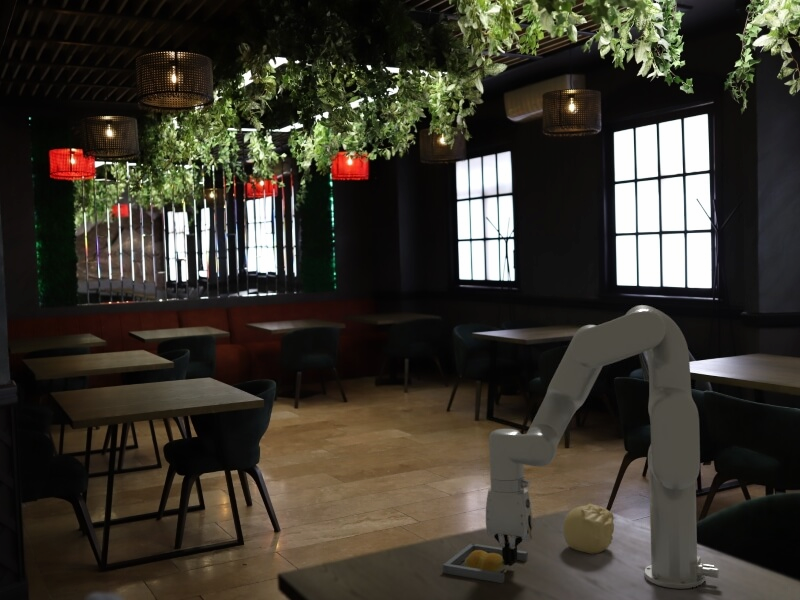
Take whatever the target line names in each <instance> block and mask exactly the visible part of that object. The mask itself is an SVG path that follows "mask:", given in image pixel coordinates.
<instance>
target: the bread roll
mask: <svg viewBox="0 0 800 600" xmlns="http://www.w3.org/2000/svg"><path fill="white" fill-rule="evenodd" d="M464 567H470V568H476V569H482V570H488V571H494V572H500V573H502V572H503V571H504V569H505V567H506V565H504V560H503V557H502V556H501V555H499V554H496V553H487V552H485V551H482V550H475V551H473V552H472V553H471V554H470V555H469V556H468V557H467V558H466V559H465V560H464Z"/></svg>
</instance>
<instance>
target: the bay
mask: <svg viewBox="0 0 800 600" xmlns="http://www.w3.org/2000/svg"><path fill="white" fill-rule="evenodd" d="M475 550H482V551H485V552H487V553H496V554H499V555H501V556H502V547H498V546H493V545H485V544H479V543H478V544H477V543H469V544H467V545H466V547H464V548H462V549H461V550H460V551H459V552H458V553H456V554H455V555H454V556H453V557H451V558H450V559H448V560H447V561H445V563H443V564H442V574H447V575H454V576H459V577H464V578H471V579H477V580H483V581H487V582H488V581H489V582H494V583H499V584H503V583H504V582H505V573H504V572H494V571H488V570H482V569H476V568H470V567H465V565H464V566H463V565H460V564H462V563H463V562H465V560H466V558H467V557H468V556H469V555H470V554H471V553H472V552H473V551H475ZM517 560H518V561H522V562H523V561H525V562H527V561H528V560H529V556H528V551H524V550H518V549H517ZM462 561H463V562H462ZM461 562H462V563H461Z"/></svg>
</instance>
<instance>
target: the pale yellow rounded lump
mask: <svg viewBox="0 0 800 600" xmlns="http://www.w3.org/2000/svg"><path fill="white" fill-rule="evenodd" d="M614 519H615V518H614V514H613V512H612V511H610V510H608V509H607V508H605V507H603V506H600V505H597V504H592V503H588V504H586V505H580V506H577V507H575V508H572V509H571V510H570V511H569V512H568V513H567V515H566V516H565V518H564V521H563V525H562V533H563V537H564V540H565V542H566V544H567V545H568V547H569V548H571V549H573V550H576V551H579V552H583V553H586V554H599V553H601V552H603V551H605V550H607V549H608V548H609V547H610V545H611V544H612V541H613V540H614V537H613V533H614V531H615V524H614Z"/></svg>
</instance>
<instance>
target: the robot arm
mask: <svg viewBox="0 0 800 600" xmlns="http://www.w3.org/2000/svg"><path fill="white" fill-rule="evenodd" d="M688 347H689V346H688V343H687V341H686V338H685V336H684V334H683V332H682V330H681V328H680V327H679V326H678V325H677V323H676V322H675V321H674V320H673V319H672V318H671V317H670V316H669V315H667V314H665V312H663V311H661V310H660V309H656V307H653V306H649V305H643V304H641V305H635V306H634V307H631V309H629V310H628V311H627V312H626V314H624V315H622V316H619V317H617V318H615V319H612V320H610V321H606V322H603V323H601V324H598V325H595V324H587V325H583V326H581V327H580V328H579V329H578V330H576V332H575V333H574V335H573V336H572V339H571V341H570V342H569V345H568V347H567V349H566V351H565V352H564V355H563V357H562V359H561V361H560V363H559V364H558V367H557V368H556V370H555V372H554V374H553V377H552V379H551V381H550V383H549V385H548V387H547V390H546V393H545V396H544V397H543V401H542V402H541V405H540V406H539V408H538V410H537V413H536V414H535V417H534V418H533V421H532V422H531V424H530V426H529V428H528V430H527V432H526V433H524V434H522V433H521V432H520V431H519V430H518V429H514V428H499V429H498V428H497V429H495V430H492V431H491V432H490V434H489V437H488V448H489V451H488V452H489V471H490V472H489V473H490V475H489V476H490V488H489V489H488V491H487V495H486V496H487V497H486V504H485V528H486V535H487V536H488V537H491V538H494V539H495V540H496V541H497V542H498V543H499V546H500V548H502V557H503V560H504V565H505V566H509V567H512V566H513V565H514V564H515V563H516V562H517V550H518V546H519V545H520V544H521V543H526V542H530V541H532V540H533V536H532V531H533V530H534V520H533V519H534V518H533V509H532V502H531V497H530V494H529V491H528V489H527V488H529V487H530V485H531V483H530V481H528V480H526V478H525V476H524V474H525V473H524V465H526V466H531V467H545V466H546V467H547V466H548V465H549V464H551V463H552V462H553V461H554V459H555V458H556V454H557V449H558V445H559V443H560V441H561V439H562V437H563V435H564V433H565V432H566V429H567V427H568V425H569V423H570V421H571V420H572V417H573V416H574V414H575V413H576V411H577V410H579V409H580V407H582V406H583V404H584V403H585V401H586V399H587V398H588V396H589V394H590V392H591V390H592V388H593V386H594V384H595V383H596V381H597V378H598V377H599V374H600V373H601V371H602V368H603V367H604V366H607V365H610V364H613V363H617V362H620V361H622V360H624V359H625V360H626V359H628V358H630V357H634V356H637V355H638V354H642V353H644V352H646V355H647V362H648V363H647V364H648V365H647V366H648V375H649V376H648V377H649V378H648V380H649V381H648V383H649V385H648V386H649V387H648V388H649V392H648V393H649V396H648V405H647V407H648V415H649V421H650V445H649V447H648V450H647V451H648V452H647V466H648V480H649V481H648V482H649V515H650V516H649V519H650V520H649V523H650V526H649V527H650V556H651V557H650V558H651V559H650V560H651V564H650V565H647V566H646V567H645V568H644V570H643V571H644V573H643V575H644V578H645V579H646V580H647V581H648V582H649V583H652V584H654V585H657V586H661V587H664V588H670V589H677V590H678V589H681V590H682V589H683V590H685V589H692V587H693V588H696V586H697V587H699V586H698V585H700V584H701V585H703V584H704V583H705V582H706V577H709V578H712V579H719V577H720V576H719V575H720V571H719V568H716V567H715V564H707V563H704V562H703V561H702V562H701V558H702V557H701V556H700V555H698V546H697V545H698V540H697V537H698V536H697V495H696V494H697V493H696V481H697V478H698V477H699V474H700V470H701V468H700V467H701V449H700V448H701V445H700V443H701V442H700V440H701V438H700V416H699V411H698V407H697V404H696V403H695V401H694V399H693V396H692V395H693V394H692V385H691V384H692V383H691V382H692V381H691V380H692V379H691V376H692V375H691V367H690V365H691V363H690V353H689V349H688ZM704 581H705V582H704ZM703 582H704V583H703ZM702 583H703V584H702ZM701 585H700V586H701Z"/></svg>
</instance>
